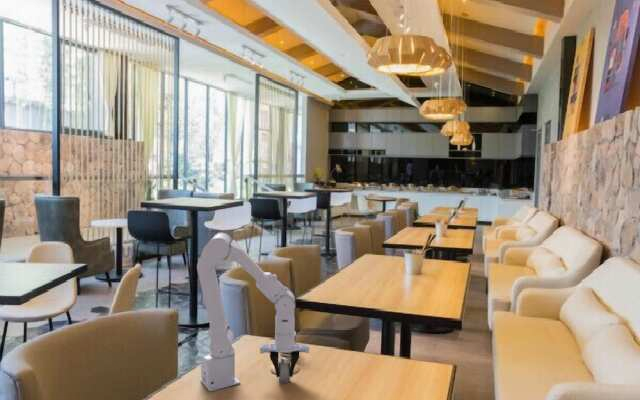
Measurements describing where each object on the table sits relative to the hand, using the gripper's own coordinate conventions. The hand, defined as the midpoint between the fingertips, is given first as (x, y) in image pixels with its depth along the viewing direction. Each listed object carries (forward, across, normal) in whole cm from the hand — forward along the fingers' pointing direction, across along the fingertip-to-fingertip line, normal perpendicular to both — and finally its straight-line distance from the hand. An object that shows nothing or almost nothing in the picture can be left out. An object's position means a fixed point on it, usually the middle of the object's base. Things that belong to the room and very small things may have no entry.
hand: (284, 375), depth 150 cm
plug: (+2, 0, 0) cm, 2 cm away
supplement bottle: (+2, -1, -20) cm, 20 cm away
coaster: (+2, 0, -8) cm, 8 cm away
